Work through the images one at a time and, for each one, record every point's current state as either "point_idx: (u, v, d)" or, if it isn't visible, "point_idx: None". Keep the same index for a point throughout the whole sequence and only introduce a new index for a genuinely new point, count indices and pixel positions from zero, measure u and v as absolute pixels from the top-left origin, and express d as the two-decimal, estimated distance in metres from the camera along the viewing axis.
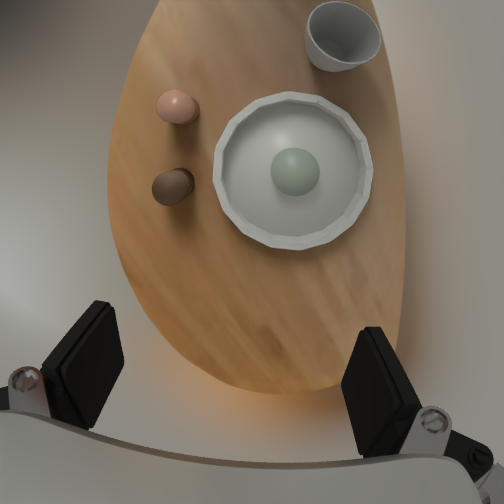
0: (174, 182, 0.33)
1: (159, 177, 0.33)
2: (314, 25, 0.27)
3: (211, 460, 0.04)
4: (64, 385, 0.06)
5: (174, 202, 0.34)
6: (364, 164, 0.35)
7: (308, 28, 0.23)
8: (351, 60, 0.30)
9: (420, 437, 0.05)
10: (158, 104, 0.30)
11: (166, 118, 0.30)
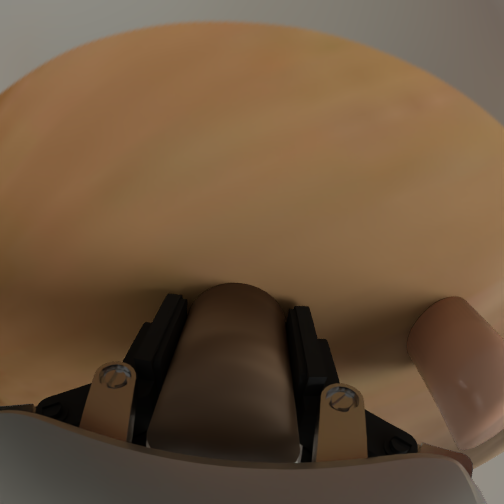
0: None
1: (282, 438, 0.06)
2: None
3: (211, 460, 0.04)
4: (155, 377, 0.08)
5: None
6: None
7: None
8: None
9: (333, 420, 0.06)
10: None
11: (484, 414, 0.06)
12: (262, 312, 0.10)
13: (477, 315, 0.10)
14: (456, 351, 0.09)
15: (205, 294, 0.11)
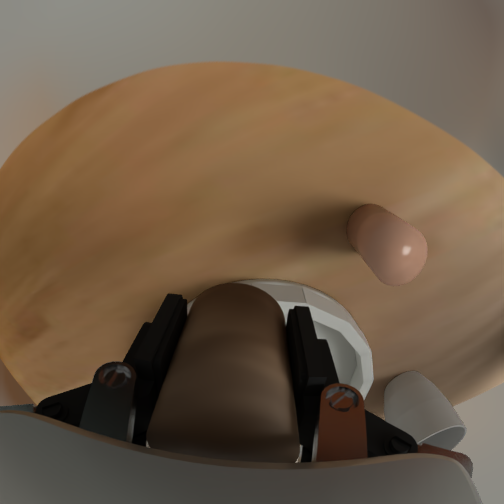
0: None
1: (281, 438, 0.06)
2: None
3: (211, 460, 0.04)
4: (155, 377, 0.08)
5: None
6: None
7: (446, 428, 0.18)
8: None
9: (333, 419, 0.06)
10: (410, 230, 0.16)
11: (382, 244, 0.16)
12: (262, 312, 0.10)
13: (386, 210, 0.20)
14: (367, 222, 0.19)
15: (205, 294, 0.11)
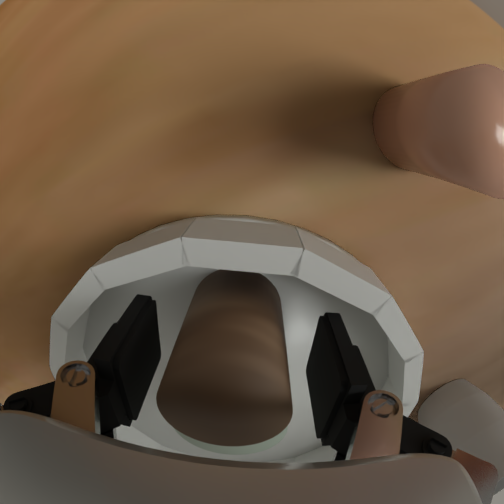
0: (250, 430, 0.08)
1: (276, 395, 0.07)
2: None
3: (211, 460, 0.04)
4: (116, 377, 0.07)
5: (174, 423, 0.08)
6: None
7: None
8: None
9: (372, 424, 0.06)
10: None
11: (467, 91, 0.05)
12: (259, 291, 0.11)
13: None
14: (415, 85, 0.08)
15: (208, 277, 0.12)
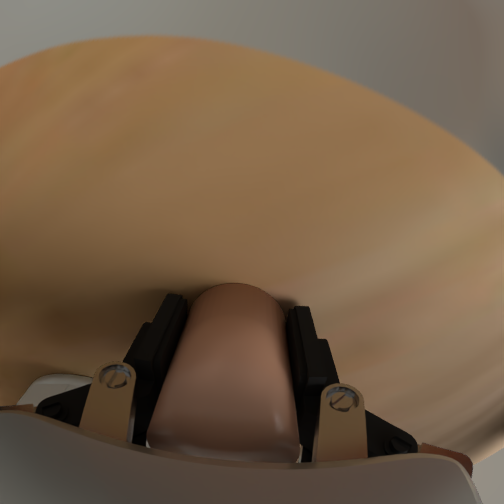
0: None
1: None
2: None
3: (211, 460, 0.04)
4: (155, 377, 0.08)
5: None
6: None
7: None
8: None
9: (334, 419, 0.06)
10: (232, 418, 0.06)
11: (160, 433, 0.06)
12: None
13: (245, 308, 0.10)
14: (179, 346, 0.09)
15: None
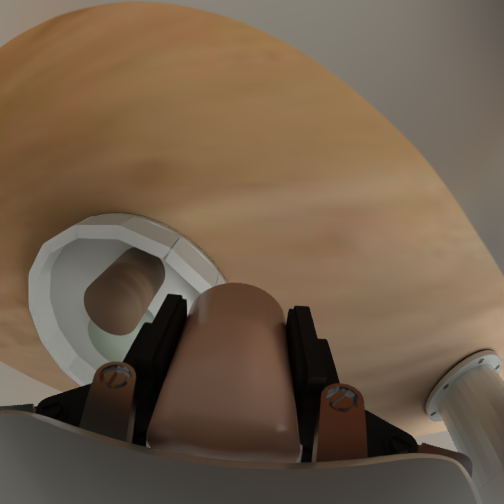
0: (119, 325, 0.17)
1: (132, 306, 0.16)
2: None
3: (211, 460, 0.04)
4: (155, 377, 0.08)
5: (88, 310, 0.17)
6: None
7: None
8: None
9: (334, 420, 0.06)
10: (233, 418, 0.06)
11: (160, 433, 0.06)
12: (150, 263, 0.20)
13: (245, 308, 0.10)
14: (179, 346, 0.09)
15: (130, 248, 0.21)
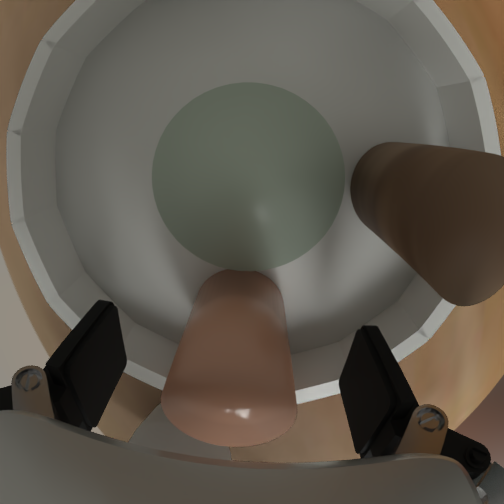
0: (456, 264, 0.06)
1: (494, 286, 0.06)
2: None
3: (211, 460, 0.04)
4: (68, 384, 0.06)
5: (476, 165, 0.05)
6: (36, 227, 0.10)
7: None
8: None
9: (416, 436, 0.05)
10: (238, 374, 0.07)
11: (173, 394, 0.07)
12: None
13: (248, 288, 0.11)
14: (190, 321, 0.10)
15: None
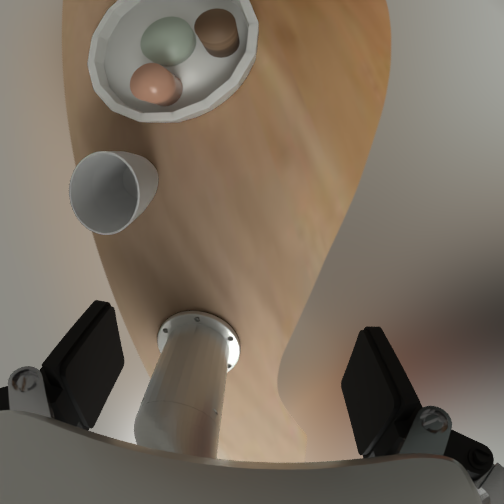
0: (205, 31, 0.22)
1: (224, 36, 0.22)
2: None
3: (211, 460, 0.04)
4: (64, 385, 0.06)
5: (207, 12, 0.21)
6: (97, 65, 0.26)
7: (138, 188, 0.25)
8: (110, 173, 0.31)
9: (420, 437, 0.05)
10: (152, 65, 0.23)
11: (134, 76, 0.23)
12: (236, 45, 0.26)
13: None
14: None
15: None
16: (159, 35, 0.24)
